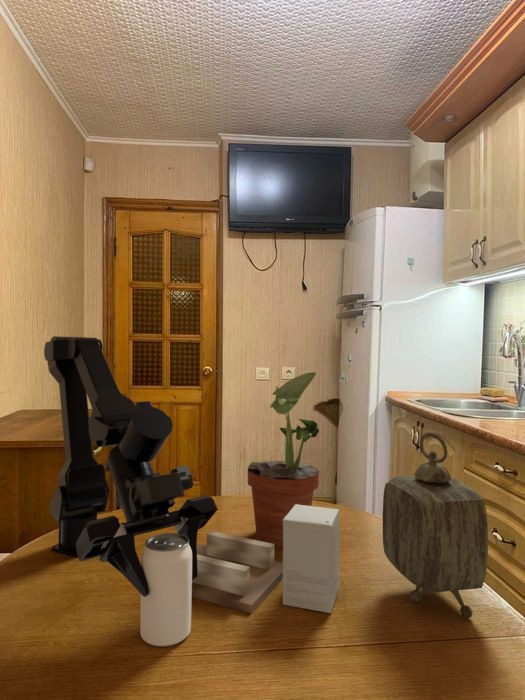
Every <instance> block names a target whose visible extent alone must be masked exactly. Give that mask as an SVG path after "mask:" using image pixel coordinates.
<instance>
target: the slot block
mask: <svg viewBox="0 0 525 700" xmlns="http://www.w3.org/2000/svg"><path fill="white" fill-rule="evenodd" d="M197 569H198V576H197V578H196V579H194V580H192V598H195V599H198V600H202V601H206V602H209V603H211V604H216V605H219V606H223V607H226V608H231V609H234V610H237V611H240V612H245V613H248V614H251V615H252V614H253V613H254V612H255V611H256V610H257V609H258V607H259V606H260V605H261V604H262V603H263V602H264V600H266V598H267V597H268V596H269V595H270V594H271V592H272V591H273V590H274V589H275V588H277V586H278V584H279V583H280V582H281V581H283V562H280V561H276V560H275V546H274V544H271V543H267V542H262V541H259V540H258V539H251V538H247V537H242V536H237V535H232V534H228V533H223V532H218V531H214V530H211V531H210V532H208V533H206V545H204V544H200V543H197Z"/></svg>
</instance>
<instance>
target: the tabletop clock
mask: <svg viewBox="0 0 525 700" xmlns="http://www.w3.org/2000/svg"><path fill="white" fill-rule="evenodd" d="M427 437H429V438H433V439H435V440H437V441H438V442H439V443H440V445H441V447H442V449H443V456H442V457H441V458H438V457H437V456H438V454H437V452H436V451H430V452H429V453H428V452H427V450H425V448H424V447H425V446H424V441H425V439H426V438H427ZM419 445H420V446H419V447H420V451H421V453H422V454H423V456H424V458H426V459H427V460H428V462H424V463H421V464H420V465H419V466H418V467H417V468H416V469H415V472H414V474H413V475H398V476H394V477H393V478H391V479H390V480H389V481H387V482H386V483H385V485H384V490H383V498H382V499H383V500H382V547H383V553H384V556H386V558H387V561H389V563H390V564H391V565H393V567H394V569H396V570H397V571H398V572H399V573H400V574H401V575H402V576H403V578H405V579H406V580H408V581H409V582H410V584H411V583H412V584H413V585H414V586H415V589H413V590H411V592H410V594H409V595H410V599H411V601H413V602H415V603H419V602H421V600H422V597H423V596H422V593H421V592H420V590H421V589H423V590H424V591H427V592H429V593H444V592H446V593H447V592H450V593H451V594H452V595H453V596H454V598H455V599H456V601H457V602H458V604H459V605H460V609H459V612H460V615H461V617H463V618H465V619H470V618H472V616H473V610H472V608H471V607H470V606H468V605H465V603H464V600H463V599H462V596H461V594H460V591H464V590H465V591H466V590H474V589H475V590H476V589H482V588H483V587H484V584H485V580H486V576H487V567H488V555H489V530H488V529H489V527H488V514H487V508H486V503H485V500H484V498H483V497H482V496H481V494H480V493H478V492H477V490H475V489H474V488H472V487H470V486H469V485H467V484H465V483H463V481H460V480H459V479H456V478H453V477H451V475H450V473H449V470H447V468H446V467H445V466H444V465H442V464H441V463H444V461H446V460H447V458H448V446H447V444H446V442H445V440H444V439H443V438H442V436H440V435H438V434H437V433H435V432H429V431H426V432H425V433H423V434H422V435H421V437H420V440H419Z"/></svg>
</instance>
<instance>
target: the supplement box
mask: <svg viewBox="0 0 525 700" xmlns="http://www.w3.org/2000/svg"><path fill="white" fill-rule="evenodd" d="M282 563H283V579H282V605H284V606H289V607H295V608H300V609H306V610H311V611H316V612H320V613H327V614H331V613H332V610H333V607H334V606H335V605H334V604H335V602H336V599H337V596H338V593H339V590H340V584H339V582H340V509H338V508H330V507H329V508H328V507H321V506H306V505H298V504H295V506H294V507H293V508H292V509H291V511H290V512H289V513H288V514H287V515H286V516H285V518H284V519H283V546H282Z"/></svg>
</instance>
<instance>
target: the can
mask: <svg viewBox="0 0 525 700" xmlns="http://www.w3.org/2000/svg"><path fill="white" fill-rule="evenodd" d="M144 545H145V546H144V548H143V551H142V552H141V561H140V564H141V566H142V569H143V572H144V575H145V577H146V580H147V584H148V588H149V594H148V596H146V597H144V596H143V595H142V594H141V593H140V617H139V618H140V627H139V630H140V632H139V633H140V638H142V640H143V641H144V642H145V643H146V644H147V645H149V646H152V647H154V648H155V647H156V648H168V647H173V646H176V645H177V644H178V645H179V643H181V642H184V640H186V639H187V638H188V636H189V635H190V633H191V629H192V599H193V597H192V550H191V547H190V545H189V538H188V537H187V536H185V535H182V534H179V533H177V532H164V533H158V534H154V535H152V536H150V537H148V538H147V539H146V541H145V542H144Z"/></svg>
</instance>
